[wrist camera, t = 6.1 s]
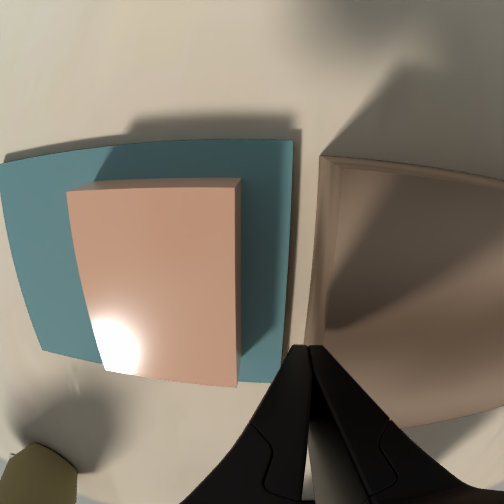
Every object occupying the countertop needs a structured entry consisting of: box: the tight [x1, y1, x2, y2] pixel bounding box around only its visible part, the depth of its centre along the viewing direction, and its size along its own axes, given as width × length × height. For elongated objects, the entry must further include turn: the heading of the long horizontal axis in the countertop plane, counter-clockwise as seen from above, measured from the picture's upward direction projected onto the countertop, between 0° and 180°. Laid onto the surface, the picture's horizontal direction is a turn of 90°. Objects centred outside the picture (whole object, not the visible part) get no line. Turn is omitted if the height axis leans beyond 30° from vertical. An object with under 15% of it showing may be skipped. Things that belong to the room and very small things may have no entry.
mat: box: [0, 139, 293, 383], centre depth 13 cm, size 11×14×1 cm
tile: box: [66, 178, 241, 388], centre depth 12 cm, size 8×6×2 cm
